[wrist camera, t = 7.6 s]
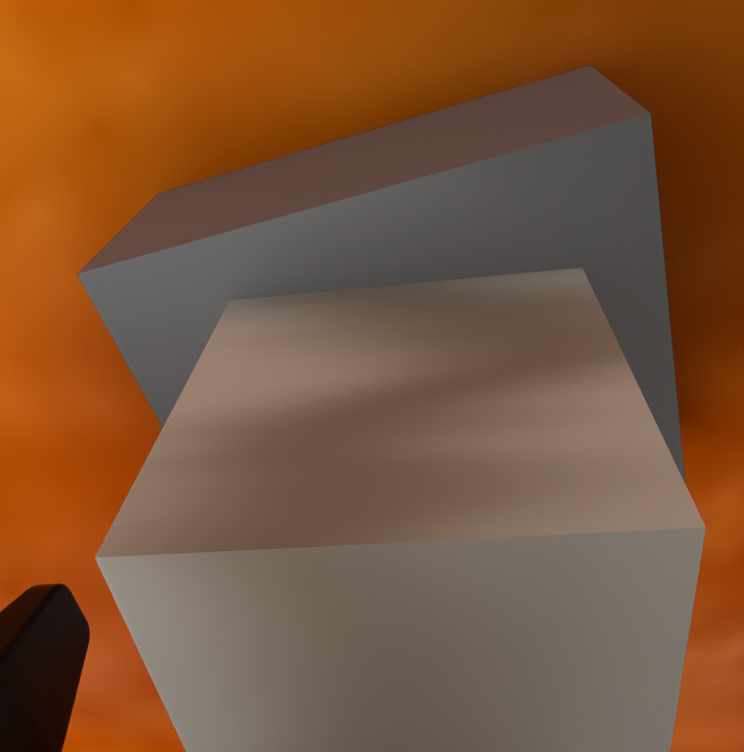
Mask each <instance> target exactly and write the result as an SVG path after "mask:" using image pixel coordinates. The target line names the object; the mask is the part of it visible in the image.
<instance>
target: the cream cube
mask: <svg viewBox="0 0 744 752" xmlns="http://www.w3.org/2000/svg"><path fill="white" fill-rule="evenodd" d="M705 530H706V527H705V525H704V523H703V521H702V518H701V516H700V514H699V512H698V510H697V508H696V506H695V504H694V502H693V500H692V497H691V495H690V493H689V491H688V489H687V487H686V485H685V483H684V481H683V478H682V476H681V474H680V472H679V470H678V468H677V466H676V464H675V462H674V460H673V457H672V455H671V453H670V451H669V449H668V447H667V445H666V443H665V441H664V439H663V436H662V434H661V432H660V430H659V428H658V426H657V424H656V422H655V420H654V417H653V415H652V413H651V411H650V409H649V407H648V405H647V403H646V401H645V399H644V396H643V394H642V392H641V390H640V388H639V386H638V384H637V382H636V380H635V378H634V375H633V373H632V371H631V369H630V367H629V365H628V363H627V361H626V359H625V356H624V354H623V352H622V350H621V348H620V346H619V344H618V342H617V340H616V338H615V335H614V333H613V331H612V329H611V327H610V325H609V323H608V321H607V319H606V316H605V314H604V312H603V310H602V308H601V306H600V304H599V302H598V300H597V298H596V295H595V293H594V291H593V289H592V287H591V285H590V283H589V281H588V279H587V277H586V274H585V272H584V270H583V268H572V269H561V270H550V271H540V272H529V273H518V274H507V275H497V276H486V277H475V278H465V279H454V280H443V281H432V282H422V283H411V284H400V285H390V286H379V287H368V288H358V289H347V290H336V291H325V292H315V293H304V294H293V295H283V296H272V297H261V298H250V299H240V300H230V301H229V303H228V305H227V307H226V309H225V310H224V312H223V314H222V316H221V318H220V320H219V322H218V324H217V326H216V328H215V330H214V331H213V333H212V335H211V337H210V339H209V341H208V343H207V345H206V347H205V349H204V350H203V352H202V354H201V356H200V358H199V360H198V362H197V364H196V366H195V368H194V370H193V371H192V373H191V375H190V377H189V379H188V381H187V383H186V385H185V387H184V389H183V391H182V392H181V394H180V396H179V398H178V400H177V402H176V404H175V406H174V408H173V410H172V411H171V413H170V415H169V417H168V419H167V421H166V423H165V425H164V427H163V429H162V431H161V432H160V434H159V436H158V438H157V440H156V442H155V444H154V446H153V448H152V450H151V452H150V453H149V455H148V457H147V459H146V461H145V463H144V465H143V467H142V469H141V471H140V472H139V474H138V476H137V478H136V480H135V482H134V484H133V486H132V488H131V490H130V492H129V493H128V495H127V497H126V499H125V501H124V503H123V505H122V507H121V509H120V511H119V512H118V514H117V516H116V518H115V520H114V522H113V524H112V526H111V528H110V530H109V532H108V533H107V535H106V537H105V539H104V541H103V543H102V545H101V547H100V549H99V551H98V553H97V554H96V556H95V559H96V561H97V563H98V566H99V568H100V570H101V572H102V574H103V576H104V578H105V580H106V583H107V585H108V587H109V589H110V591H111V593H112V595H113V597H114V600H115V602H116V604H117V606H118V608H119V610H120V612H121V614H122V617H123V619H124V621H125V623H126V625H127V627H128V629H129V631H130V634H131V636H132V638H133V640H134V642H135V644H136V646H137V649H138V651H139V653H140V655H141V657H142V659H143V661H144V663H145V666H146V668H147V670H148V672H149V674H150V676H151V678H152V680H153V683H154V685H155V687H156V689H157V691H158V693H159V695H160V697H161V700H162V702H163V704H164V706H165V708H166V710H167V712H168V714H169V717H170V719H171V721H172V723H173V725H174V727H175V729H176V732H177V734H178V736H179V738H180V740H181V742H182V744H183V746H184V749H185V751H186V752H670V748H671V742H672V735H673V729H674V723H675V717H676V711H677V704H678V698H679V692H680V686H681V679H682V673H683V667H684V661H685V654H686V648H687V642H688V636H689V629H690V623H691V617H692V611H693V604H694V598H695V592H696V586H697V580H698V573H699V567H700V561H701V555H702V548H703V542H704V536H705Z"/></svg>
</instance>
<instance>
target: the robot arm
mask: <svg viewBox="0 0 744 752" xmlns="http://www.w3.org/2000/svg"><path fill="white" fill-rule="evenodd" d="M89 638H90V631H89V625H88V622H87V620H86V618H85V616H84V615H83V613H82V611H81V609H80V607H79V605H78V604H77V602H76V600H75V598H74V596H73V594H72V593H71V591H70V589H69V588H68V587H67V586H65V585H64V584H44V585H36V586H33V587H31V588H29V589H28V590H26V591H25V592H24V593H23V594H21V595H20V596H19V597H18V598H17V599H15V600H14V601H13V602H12V603H11V604H9V605H8V606H7V607H6V608H4V609H3V610H2V611H1V612H0V752H62V748H63V745H64V741H65V738H66V734H67V729H68V725H69V721H70V717H71V713H72V709H73V705H74V701H75V697H76V693H77V689H78V685H79V681H80V677H81V673H82V669H83V665H84V661H85V657H86V653H87V649H88V645H89Z"/></svg>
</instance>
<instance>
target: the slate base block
mask: <svg viewBox="0 0 744 752" xmlns="http://www.w3.org/2000/svg"><path fill="white" fill-rule="evenodd" d="M572 268H583V270H584V272H585V274H586V277H587V279H588V281H589V283H590V285H591V287H592V289H593V291H594V293H595V295H596V298H597V300H598V302H599V304H600V306H601V308H602V310H603V312H604V314H605V316H606V319H607V321H608V323H609V325H610V327H611V329H612V331H613V333H614V335H615V338H616V340H617V342H618V344H619V346H620V348H621V350H622V352H623V354H624V356H625V359H626V361H627V363H628V365H629V367H630V369H631V371H632V373H633V375H634V378H635V380H636V382H637V384H638V386H639V388H640V390H641V392H642V394H643V396H644V399H645V401H646V403H647V405H648V407H649V409H650V411H651V413H652V415H653V417H654V420H655V422H656V424H657V426H658V428H659V430H660V432H661V434H662V436H663V439H664V441H665V443H666V445H667V447H668V449H669V451H670V453H671V455H672V457H673V460H674V462H675V464H676V466H677V468H678V470H679V472H680V474H681V476H682V478H683V481H684V483H685V475H684V464H683V454H682V443H681V432H680V421H679V411H678V400H677V389H676V378H675V368H674V357H673V346H672V336H671V325H670V314H669V303H668V293H667V282H666V271H665V260H664V250H663V239H662V228H661V217H660V207H659V196H658V185H657V175H656V164H655V153H654V142H653V132H652V121H651V113H650V112H649V111H647V110H646V109H645V108H643V107H642V106H641V105H640V104H638V103H637V102H636V101H635V100H633V99H632V98H631V97H630V96H628V95H627V94H626V93H625V92H623V91H622V90H621V89H620V88H618V87H617V86H616V85H615V84H613V83H612V82H611V81H610V80H608V79H607V78H606V77H605V76H603V75H602V74H601V73H600V72H598V71H597V70H596V69H595V68H593V67H592V66H591V65H588V66H585V67H581V68H578V69H575V70H571V71H568V72H565V73H561V74H558V75H554V76H551V77H548V78H544V79H541V80H538V81H534V82H531V83H528V84H524V85H521V86H518V87H514V88H511V89H508V90H504V91H501V92H497V93H494V94H491V95H487V96H484V97H481V98H477V99H474V100H471V101H467V102H464V103H461V104H457V105H454V106H451V107H447V108H444V109H440V110H437V111H434V112H430V113H427V114H424V115H420V116H417V117H414V118H410V119H407V120H404V121H400V122H397V123H394V124H390V125H387V126H383V127H380V128H377V129H373V130H370V131H367V132H363V133H360V134H357V135H353V136H350V137H347V138H343V139H340V140H337V141H333V142H330V143H326V144H323V145H320V146H316V147H313V148H310V149H306V150H303V151H300V152H296V153H293V154H290V155H286V156H283V157H280V158H276V159H273V160H269V161H266V162H263V163H259V164H256V165H253V166H249V167H246V168H243V169H239V170H236V171H233V172H229V173H226V174H223V175H219V176H216V177H213V178H209V179H206V180H202V181H199V182H196V183H192V184H189V185H186V186H182V187H179V188H176V189H172V190H169V191H166V192H162V193H159V194H157V195H156V196H155V197H154V198H153V199H152V200H151V201H150V202H149V203H148V204H147V205H146V206H145V207H144V208H143V209H142V210H141V211H140V212H139V213H138V214H137V215H136V216H135V217H134V218H133V219H132V220H131V221H130V222H129V223H128V224H127V225H126V226H125V227H124V228H123V229H122V230H121V231H120V232H119V233H118V234H117V235H116V236H115V237H114V238H113V239H112V240H111V241H110V242H109V243H108V244H107V245H106V246H105V247H104V248H103V249H102V250H101V251H100V252H99V253H97V254H96V255H95V256H94V257H93V258H92V259H91V260H90V261H89V262H88V263H87V264H86V265H85V266H84V267H83V268H82V269H81V270H80V271H79V272H78V273H77V275H78V277H79V279H80V281H81V282H82V284H83V286H84V288H85V290H86V291H87V293H88V295H89V297H90V298H91V300H92V302H93V304H94V306H95V307H96V309H97V311H98V313H99V315H100V316H101V318H102V320H103V322H104V324H105V325H106V327H107V329H108V331H109V333H110V334H111V336H112V338H113V340H114V342H115V343H116V345H117V347H118V349H119V351H120V352H121V354H122V356H123V358H124V360H125V361H126V363H127V365H128V367H129V368H130V370H131V372H132V374H133V376H134V377H135V379H136V381H137V383H138V385H139V386H140V388H141V390H142V392H143V394H144V395H145V397H146V399H147V401H148V403H149V404H150V406H151V408H152V410H153V412H154V413H155V415H156V417H157V419H158V421H159V422H160V424H161V426H162V428H163V427H164V425H165V423H166V421H167V419H168V417H169V415H170V413H171V411H172V410H173V408H174V406H175V404H176V402H177V400H178V398H179V396H180V394H181V392H182V391H183V389H184V387H185V385H186V383H187V381H188V379H189V377H190V375H191V373H192V371H193V370H194V368H195V366H196V364H197V362H198V360H199V358H200V356H201V354H202V352H203V350H204V349H205V347H206V345H207V343H208V341H209V339H210V337H211V335H212V333H213V331H214V330H215V328H216V326H217V324H218V322H219V320H220V318H221V316H222V314H223V312H224V310H225V309H226V307H227V305H228V303H229V301H230V300H240V299H250V298H261V297H272V296H283V295H293V294H304V293H315V292H325V291H336V290H347V289H358V288H368V287H379V286H390V285H400V284H411V283H422V282H432V281H443V280H454V279H465V278H475V277H486V276H497V275H507V274H518V273H529V272H540V271H550V270H561V269H572Z"/></svg>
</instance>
